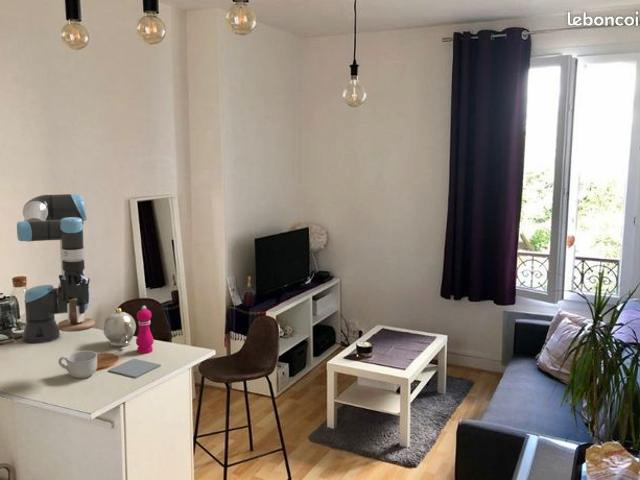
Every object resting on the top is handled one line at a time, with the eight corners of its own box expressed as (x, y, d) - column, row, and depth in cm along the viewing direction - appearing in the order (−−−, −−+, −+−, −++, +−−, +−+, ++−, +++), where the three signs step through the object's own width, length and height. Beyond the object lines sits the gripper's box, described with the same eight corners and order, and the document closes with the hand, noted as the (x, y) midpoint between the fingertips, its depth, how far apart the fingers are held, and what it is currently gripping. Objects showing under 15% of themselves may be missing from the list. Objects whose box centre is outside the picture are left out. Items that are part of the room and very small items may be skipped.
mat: (108, 371, 228) (108, 369, 228) (133, 359, 240) (133, 358, 240) (135, 378, 222) (135, 376, 222) (160, 366, 234) (160, 364, 234)
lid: (49, 328, 218) (48, 301, 216) (77, 318, 229) (76, 293, 227) (74, 333, 212) (73, 306, 210) (102, 324, 224) (101, 298, 222)
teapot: (97, 343, 258) (95, 307, 255) (125, 336, 268) (124, 302, 265) (118, 354, 246) (116, 316, 243) (146, 346, 256) (145, 310, 253)
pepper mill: (132, 352, 248) (131, 306, 245) (143, 347, 255) (142, 302, 252) (146, 355, 246) (145, 309, 242) (157, 349, 252) (156, 304, 249)
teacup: (102, 370, 228) (102, 351, 227) (89, 382, 217) (88, 361, 216) (68, 368, 229) (67, 349, 228) (53, 379, 219) (52, 359, 217)
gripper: (48, 258, 216) (51, 319, 220) (82, 264, 209) (84, 326, 213) (64, 255, 223) (67, 314, 227) (98, 260, 216) (100, 321, 220)
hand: (76, 320), depth 220 cm, fingers closed on lid, 4 cm apart
